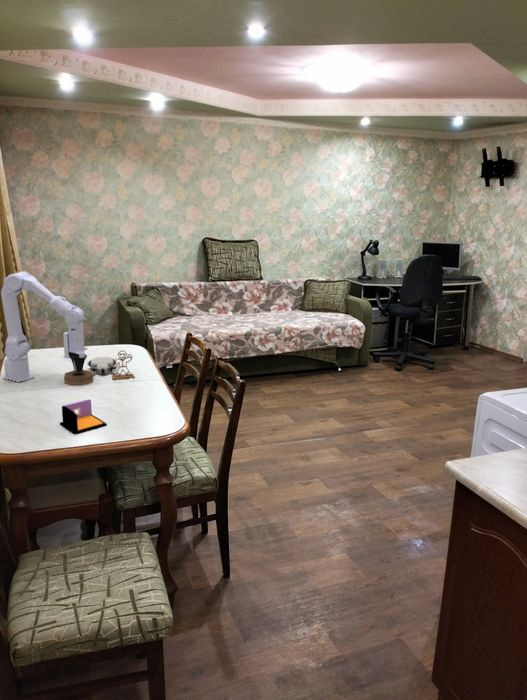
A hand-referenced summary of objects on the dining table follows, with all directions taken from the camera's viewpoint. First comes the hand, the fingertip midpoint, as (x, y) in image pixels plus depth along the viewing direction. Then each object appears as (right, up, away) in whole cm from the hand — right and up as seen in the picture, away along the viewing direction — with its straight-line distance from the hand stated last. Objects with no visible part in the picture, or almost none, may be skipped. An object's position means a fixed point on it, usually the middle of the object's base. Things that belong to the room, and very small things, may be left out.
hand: (78, 370), depth 223 cm
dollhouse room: (+15, -17, -40) cm, 47 cm away
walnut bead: (0, -4, +1) cm, 5 cm away
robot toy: (+6, -1, +15) cm, 16 cm away
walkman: (-14, +5, +34) cm, 37 cm away
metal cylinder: (0, -3, +1) cm, 3 cm away
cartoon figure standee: (+17, -4, +7) cm, 18 cm away
